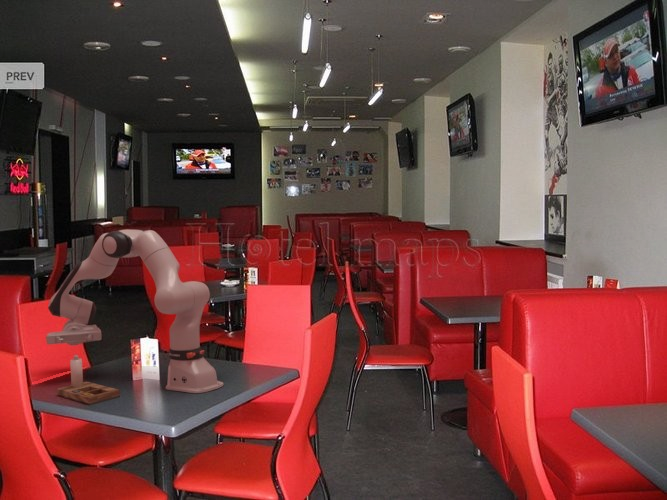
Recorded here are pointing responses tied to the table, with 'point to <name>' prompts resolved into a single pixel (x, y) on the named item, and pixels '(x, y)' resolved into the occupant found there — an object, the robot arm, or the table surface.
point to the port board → (88, 393)
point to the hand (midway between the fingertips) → (74, 340)
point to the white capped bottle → (76, 372)
